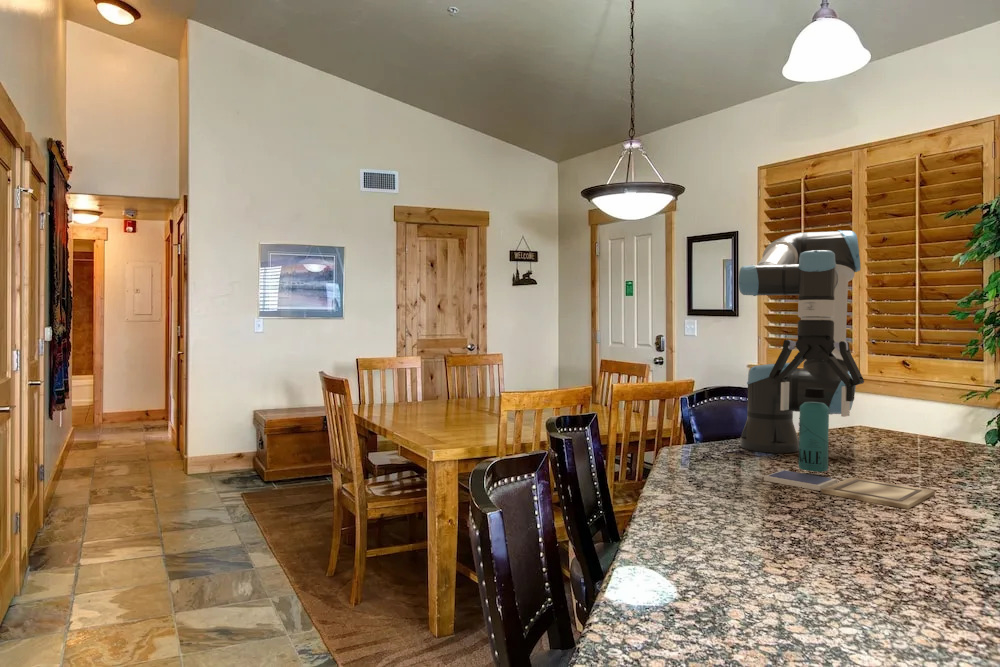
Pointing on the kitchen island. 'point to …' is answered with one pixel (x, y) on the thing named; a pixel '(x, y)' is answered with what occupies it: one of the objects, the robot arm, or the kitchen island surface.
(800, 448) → the beverage bottle
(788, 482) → the ink pad
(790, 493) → the kitchen island surface
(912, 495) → the mark board
